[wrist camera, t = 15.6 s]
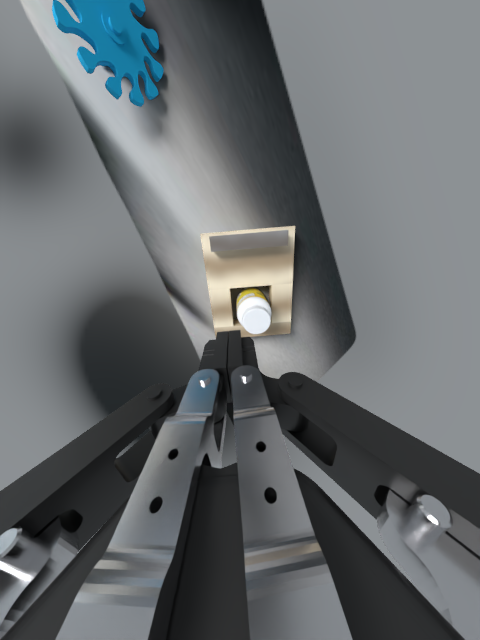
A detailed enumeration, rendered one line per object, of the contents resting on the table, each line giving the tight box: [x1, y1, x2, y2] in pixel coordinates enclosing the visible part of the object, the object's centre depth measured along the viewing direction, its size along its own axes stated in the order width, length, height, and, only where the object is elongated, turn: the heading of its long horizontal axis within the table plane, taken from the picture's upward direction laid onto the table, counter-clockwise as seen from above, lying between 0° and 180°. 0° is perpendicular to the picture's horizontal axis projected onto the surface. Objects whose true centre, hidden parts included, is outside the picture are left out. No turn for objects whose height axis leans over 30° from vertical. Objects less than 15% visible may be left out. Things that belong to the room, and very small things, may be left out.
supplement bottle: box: [236, 287, 272, 334], centre depth 30 cm, size 5×5×10 cm
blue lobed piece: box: [52, 0, 164, 107], centre depth 19 cm, size 11×6×10 cm
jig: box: [200, 226, 295, 337], centre depth 31 cm, size 18×14×5 cm
